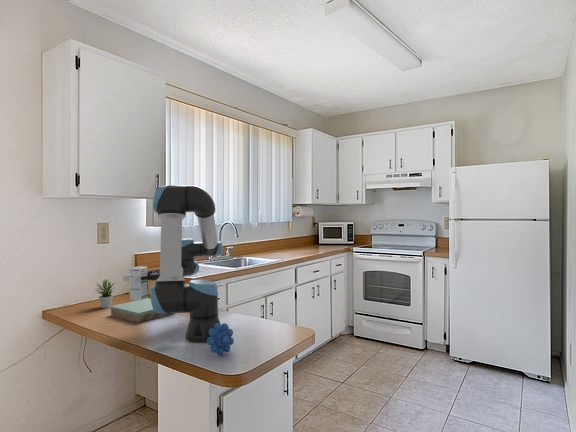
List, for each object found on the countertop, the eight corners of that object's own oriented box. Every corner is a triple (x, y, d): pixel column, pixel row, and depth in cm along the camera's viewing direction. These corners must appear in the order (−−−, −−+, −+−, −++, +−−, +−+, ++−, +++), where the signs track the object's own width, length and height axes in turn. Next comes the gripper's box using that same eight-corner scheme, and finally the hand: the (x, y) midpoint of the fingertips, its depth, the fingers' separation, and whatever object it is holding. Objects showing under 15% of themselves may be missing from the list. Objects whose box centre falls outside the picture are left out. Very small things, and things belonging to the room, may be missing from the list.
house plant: (88, 306, 208) (88, 277, 208) (114, 302, 217) (114, 275, 217) (93, 311, 197) (92, 281, 197) (120, 307, 205) (120, 278, 205)
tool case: (148, 306, 206) (148, 301, 206) (176, 312, 192) (175, 306, 192) (111, 315, 188) (111, 309, 188) (138, 322, 174) (138, 316, 174)
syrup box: (141, 300, 162) (140, 268, 162) (129, 300, 163) (128, 268, 163) (148, 297, 168) (148, 266, 168) (137, 297, 169) (136, 266, 169)
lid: (148, 300, 206) (147, 285, 206) (176, 306, 192) (176, 290, 192) (110, 309, 188) (110, 292, 188) (138, 316, 174) (138, 298, 174)
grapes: (215, 363, 124) (214, 328, 124) (203, 358, 129) (202, 324, 129) (241, 353, 133) (240, 320, 133) (229, 349, 137) (228, 317, 137)
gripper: (184, 280, 175) (142, 289, 156) (159, 277, 186) (116, 284, 167) (184, 265, 175) (141, 272, 156) (158, 262, 186) (115, 268, 167)
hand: (128, 278), depth 161 cm, fingers closed on syrup box, 7 cm apart
